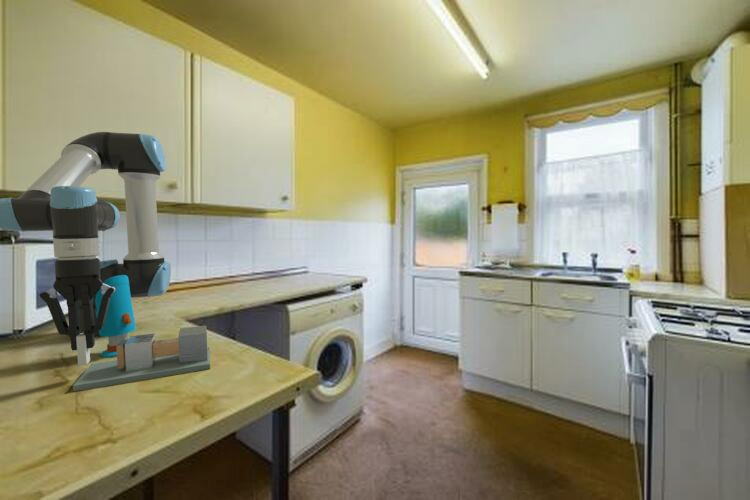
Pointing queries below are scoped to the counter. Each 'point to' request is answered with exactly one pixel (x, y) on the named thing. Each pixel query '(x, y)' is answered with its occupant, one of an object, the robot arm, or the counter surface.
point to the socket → (192, 344)
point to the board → (135, 372)
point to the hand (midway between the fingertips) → (84, 362)
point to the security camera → (116, 314)
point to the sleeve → (139, 352)
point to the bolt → (158, 350)
